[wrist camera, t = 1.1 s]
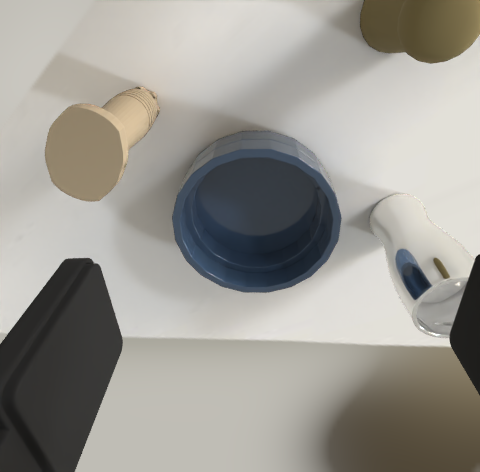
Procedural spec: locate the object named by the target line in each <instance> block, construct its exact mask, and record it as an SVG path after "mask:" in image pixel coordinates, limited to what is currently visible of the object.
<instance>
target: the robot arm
mask: <svg viewBox="0 0 480 472" xmlns="http://www.w3.org/2000/svg"><path fill="white" fill-rule="evenodd" d="M122 343H123V342H122V336H121V332H120V329H119V326H118V323H117V319H116V316H115V313H114V310H113V306H112V303H111V300H110V297H109V293H108V290H107V287H106V284H105V280H104V277H103V274H102V271H101V268H100V266H99V264H94V263H93V261H92V260H91V259H90V258H73V259H65V260H64V261H63V262H62V264H61V265H60V266H59V268H58V269H57V270H56V272H55V273H54V274H53V276H52V277H51V278H50V280H49V281H48V282H47V283H46V285H45V286H44V287H43V289H42V290H41V291H40V293H39V294H38V295H37V297H36V298H35V299H34V301H33V302H32V303H31V304H30V306H29V307H28V308H27V310H26V311H25V312H24V314H23V315H22V316H21V318H20V319H19V320H18V322H17V323H16V324H15V326H14V327H13V328H12V329H11V331H10V332H9V333H8V335H7V336H6V337H5V339H4V340H3V341H2V343H1V344H0V472H75V469H76V467H77V464H78V461H79V459H80V456H81V454H82V451H83V449H84V446H85V443H86V441H87V438H88V436H89V433H90V431H91V428H92V426H93V423H94V420H95V418H96V415H97V413H98V410H99V408H100V405H101V402H102V400H103V397H104V395H105V392H106V390H107V387H108V384H109V382H110V379H111V377H112V374H113V372H114V369H115V366H116V364H117V361H118V359H119V356H120V354H121V351H122ZM450 344H451V347H452V349H453V351H454V352H455V354H456V356H457V357H458V359H459V361H460V363H461V364H462V366H463V368H464V369H465V371H466V373H467V374H468V376H469V378H470V380H471V381H472V383H473V385H474V386H475V388H476V390H477V391H478V393H479V395H480V255H478V256H477V257H476V258H475V261H474V264H473V267H472V269H471V272H470V275H469V278H468V281H467V284H466V287H465V290H464V293H463V296H462V299H461V302H460V305H459V308H458V311H457V314H456V317H455V320H454V323H453V325H452V328H451V331H450Z"/></svg>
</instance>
